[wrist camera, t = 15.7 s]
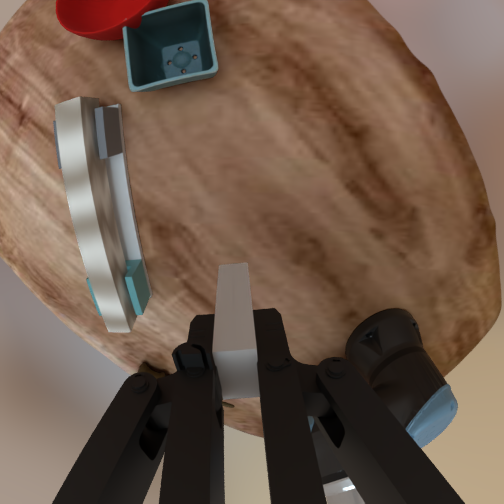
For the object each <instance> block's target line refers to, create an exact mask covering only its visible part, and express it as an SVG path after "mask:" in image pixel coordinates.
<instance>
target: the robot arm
mask: <svg viewBox="0 0 504 504" xmlns="http://www.w3.org/2000/svg"><path fill="white" fill-rule="evenodd" d="M172 357H173V360H174V363H175V366H176V369H177V372H175V373H173V374H171V375H168V376H165V377H161V378H157V379H156V378H155V377H154V376H153V375H152V374H150V373H147V372H139V373H135V374H133V375H131V376H129V377H128V378H127V379H126V381H125V382H124V384H123V385H122V387H121V388H120V390H119V391H118V393H117V394H116V396H115V398H114V399H113V401H112V402H111V404H110V406H109V407H108V409H107V410H106V412H105V414H104V415H103V417H102V419H101V420H100V422H99V423H98V425H97V427H96V429H95V430H94V432H93V433H92V435H91V437H90V438H89V440H88V442H87V443H86V445H85V447H84V448H83V450H82V452H81V454H80V455H79V457H78V459H77V460H76V462H75V464H74V466H73V467H72V469H71V471H70V472H69V474H68V476H67V478H66V480H65V481H64V483H63V485H62V487H61V488H60V490H59V492H58V494H57V496H56V497H55V499H54V501H53V503H52V504H143V501H144V499H145V496H146V494H147V492H148V490H149V487H150V485H151V483H152V480H153V478H154V476H155V473H156V471H157V469H158V466H159V464H160V462H161V459H162V457H163V455H164V463H163V471H162V479H161V488H160V498H159V504H225V495H224V494H225V492H224V410H223V406H222V397H223V399H238V398H251V397H260V403H261V414H262V423H263V433H264V442H265V452H266V461H267V471H268V480H269V490H270V499H271V504H327V502H328V504H465V503H464V502H463V500H462V499H461V498H460V497H459V495H458V494H457V493H456V492H455V490H454V489H453V488H452V487H451V485H450V484H449V483H448V482H447V480H446V479H445V478H444V477H443V475H442V474H441V473H440V472H439V470H438V469H437V468H436V467H435V465H434V464H433V463H432V462H431V460H430V459H429V458H428V457H427V456H426V454H425V453H424V452H423V451H422V449H421V448H422V447H424V446H425V445H427V444H428V443H430V442H431V441H432V440H433V439H435V438H436V437H437V436H438V435H439V434H441V433H442V432H443V431H444V430H445V429H446V427H447V426H448V425H449V424H450V423H451V421H452V420H453V418H454V417H455V415H456V412H457V408H458V404H457V400H456V399H455V397H454V395H453V393H452V391H451V387H450V385H449V384H447V382H446V381H445V379H444V378H443V376H442V375H441V373H440V372H439V370H438V369H437V367H436V366H435V364H434V363H433V361H432V360H431V358H430V357H429V356H428V354H427V353H426V351H425V350H424V348H423V344H422V340H421V336H420V332H419V328H418V325H417V323H416V321H415V320H414V318H413V317H412V316H411V315H410V313H408V312H407V311H405V310H402V309H389V310H385V311H382V312H379V313H377V314H375V315H373V316H371V317H370V318H368V319H367V320H365V321H364V322H363V323H362V324H360V325H359V326H358V327H357V328H356V330H355V331H354V332H353V333H352V335H351V336H350V338H349V340H348V342H347V345H346V357H347V359H348V360H346V359H343V358H339V357H332V358H327V359H325V360H323V361H321V363H320V364H319V365H318V366H315V365H307V364H302V363H300V362H298V361H296V360H295V359H294V358H293V357H292V356H291V354H290V351H289V347H288V342H287V338H286V334H285V330H284V326H283V321H282V317H281V314H280V313H279V312H278V311H277V310H276V309H275V308H270V309H259V310H253V309H252V300H251V290H250V281H249V271H248V262H247V263H236V264H224V265H219V272H218V283H217V295H216V307H215V314H208V315H196V316H195V318H194V319H193V320H192V321H191V323H190V329H189V334H188V340H187V342H186V343H183V344H181V345H179V346H178V347H177V348H175V349H174V351H173V353H172ZM164 452H165V454H164ZM325 496H326V497H325ZM326 499H327V502H326Z"/></svg>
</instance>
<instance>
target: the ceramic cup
mask: <svg viewBox="0 0 504 504" xmlns="http://www.w3.org/2000/svg"><path fill="white" fill-rule="evenodd" d="M168 1H169V0H57V1H56V14H57V18H58V20H59V22H60V24H61V25H62V26H63V27H64V28H65V29H66V30H68V31H70V32H72V33H74V34H76V35H79V36H82V37H86V38H90V39H96V40H118V39H123V29H122V28H123V27H125V26H128V27H130V28H135V29H136V28H138V27H139V26H140V24H141V20H142V17H141V16H142V15H143V14H144V13H146V12H148V11H152V10H156V9H159V8H163V7H166V6H167V3H168ZM125 19H126V20H125Z"/></svg>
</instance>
